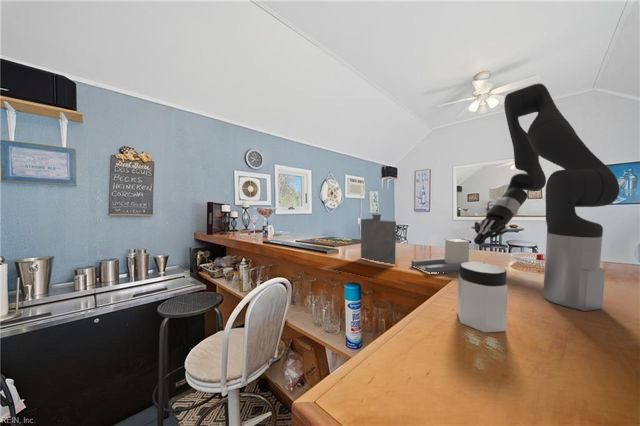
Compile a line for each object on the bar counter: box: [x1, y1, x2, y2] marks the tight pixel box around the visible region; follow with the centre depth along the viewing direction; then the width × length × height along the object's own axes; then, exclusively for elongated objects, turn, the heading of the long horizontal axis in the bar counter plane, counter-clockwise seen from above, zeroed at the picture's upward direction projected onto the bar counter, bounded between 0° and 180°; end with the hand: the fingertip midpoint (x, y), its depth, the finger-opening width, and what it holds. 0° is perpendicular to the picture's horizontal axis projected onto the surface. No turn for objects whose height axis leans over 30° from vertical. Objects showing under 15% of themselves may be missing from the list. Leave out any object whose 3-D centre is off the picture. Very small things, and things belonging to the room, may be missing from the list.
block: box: [444, 238, 470, 264], centre depth 87 cm, size 5×6×9 cm
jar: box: [456, 261, 509, 333], centre depth 49 cm, size 9×8×12 cm
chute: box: [410, 257, 486, 274], centre depth 86 cm, size 10×24×2 cm, turn 103°
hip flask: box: [360, 213, 397, 265], centre depth 94 cm, size 16×4×20 cm, turn 42°
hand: (476, 243), depth 89 cm, fingers closed
